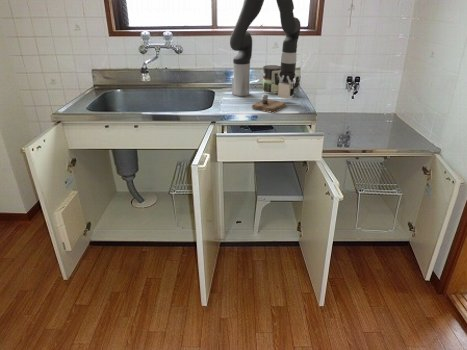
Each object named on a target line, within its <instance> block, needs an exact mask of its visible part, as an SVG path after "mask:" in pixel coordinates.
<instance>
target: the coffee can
mask: <svg viewBox="0 0 467 350" xmlns="http://www.w3.org/2000/svg"><path fill="white" fill-rule="evenodd" d="M262 68H263V72H262V73H263V74H262V75H263V76H262V77H263V78H262V92H263V93H264V94H271V95H273V94H278V85H275V75H274V74H275V73H277V72H278V73H280V71H281V70H280V68H281V65H276V64H275V65H274V64H268V65H264V66H263V67H262ZM280 80H281V77H280V76H279V82H280Z"/></svg>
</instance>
